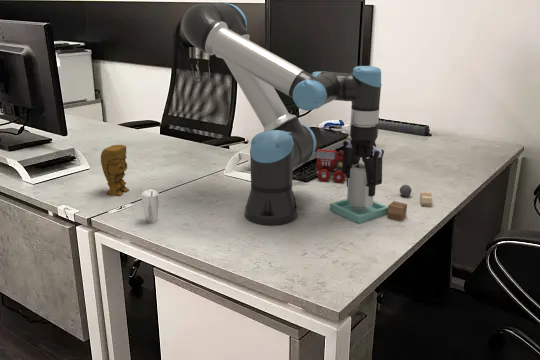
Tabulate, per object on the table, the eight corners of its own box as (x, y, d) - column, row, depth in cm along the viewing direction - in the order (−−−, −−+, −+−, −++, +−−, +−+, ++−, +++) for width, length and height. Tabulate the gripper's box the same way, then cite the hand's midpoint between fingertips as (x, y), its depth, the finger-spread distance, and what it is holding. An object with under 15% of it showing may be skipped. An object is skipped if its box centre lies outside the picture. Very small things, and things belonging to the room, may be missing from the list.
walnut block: (400, 221, 146) (402, 208, 144) (387, 218, 148) (388, 205, 146) (405, 216, 149) (407, 203, 147) (392, 213, 151) (393, 200, 150)
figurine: (119, 197, 163) (115, 151, 158) (101, 195, 164) (96, 149, 159) (131, 189, 169) (127, 145, 164) (114, 187, 171) (109, 143, 166)
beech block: (431, 207, 155) (432, 198, 154) (420, 206, 156) (421, 197, 155) (430, 201, 160) (431, 192, 159) (419, 200, 161) (420, 191, 160)
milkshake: (145, 226, 142) (143, 192, 139) (142, 219, 147) (139, 186, 143) (162, 224, 144) (160, 190, 140) (158, 216, 148) (155, 183, 145)
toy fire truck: (349, 184, 174) (351, 154, 171) (313, 181, 177) (314, 151, 174) (351, 177, 181) (353, 148, 177) (316, 174, 184) (317, 146, 180)
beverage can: (346, 201, 154) (349, 162, 150) (368, 201, 154) (371, 162, 150) (349, 209, 148) (351, 169, 144) (372, 209, 148) (375, 169, 144)
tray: (358, 223, 144) (359, 217, 143) (329, 209, 153) (329, 203, 153) (388, 213, 150) (389, 207, 150) (359, 201, 160) (359, 195, 159)
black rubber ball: (405, 198, 162) (406, 187, 160) (396, 195, 164) (397, 184, 163) (413, 196, 164) (414, 185, 162) (404, 192, 166) (405, 182, 165)
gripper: (400, 129, 138) (393, 209, 145) (350, 116, 153) (346, 190, 160) (380, 133, 134) (374, 216, 141) (330, 119, 149) (327, 195, 156)
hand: (359, 202), depth 151 cm, fingers closed on beverage can, 6 cm apart
